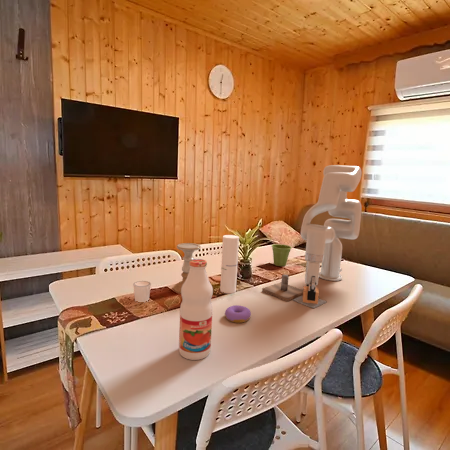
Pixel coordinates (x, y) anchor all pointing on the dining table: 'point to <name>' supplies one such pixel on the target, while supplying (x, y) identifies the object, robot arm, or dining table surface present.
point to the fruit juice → (196, 313)
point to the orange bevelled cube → (305, 292)
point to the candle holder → (186, 262)
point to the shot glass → (142, 291)
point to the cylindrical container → (229, 263)
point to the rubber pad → (312, 305)
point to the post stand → (283, 290)
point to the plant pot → (280, 254)
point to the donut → (237, 314)
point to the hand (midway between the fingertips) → (310, 295)
